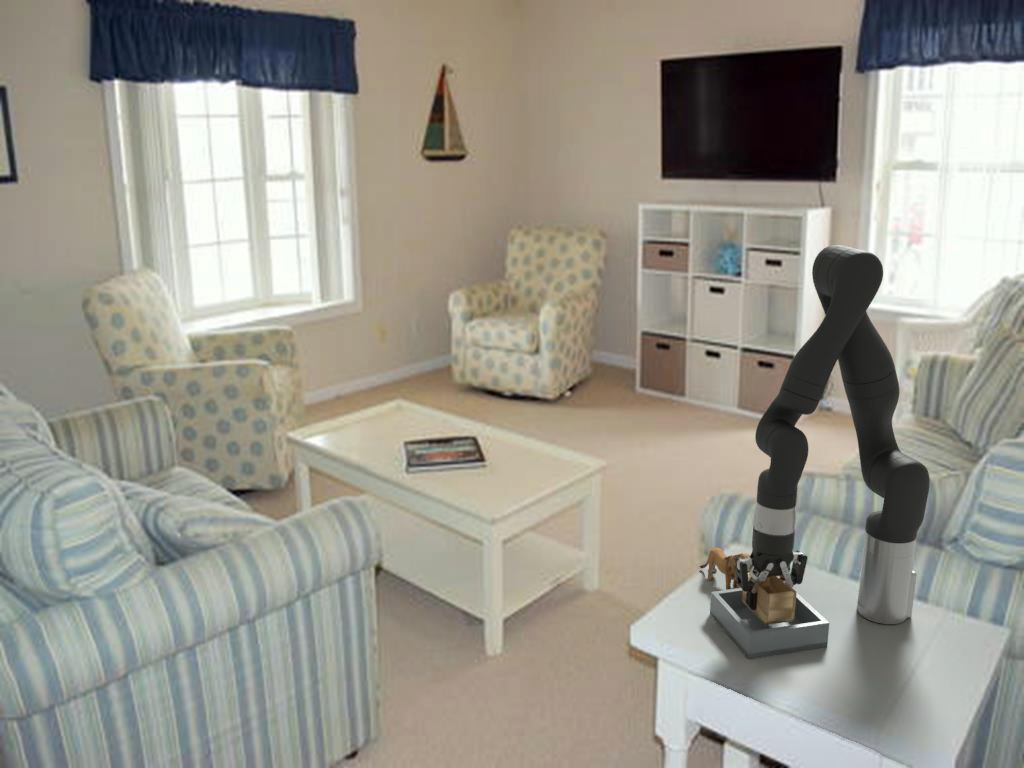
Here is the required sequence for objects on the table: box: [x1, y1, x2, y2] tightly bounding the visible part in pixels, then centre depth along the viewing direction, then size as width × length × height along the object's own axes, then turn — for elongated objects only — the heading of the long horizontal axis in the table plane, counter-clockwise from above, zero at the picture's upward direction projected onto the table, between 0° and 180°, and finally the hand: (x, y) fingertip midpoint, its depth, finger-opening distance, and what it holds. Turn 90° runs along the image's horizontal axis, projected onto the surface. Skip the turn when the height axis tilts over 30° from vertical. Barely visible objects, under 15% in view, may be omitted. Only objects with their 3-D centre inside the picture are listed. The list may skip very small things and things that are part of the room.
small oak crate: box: [742, 573, 798, 625], centre depth 173 cm, size 6×9×6 cm, turn 14°
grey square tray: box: [709, 588, 830, 660], centre depth 175 cm, size 16×16×5 cm
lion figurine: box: [699, 547, 753, 590], centre depth 192 cm, size 15×5×9 cm, turn 32°
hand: (767, 605), depth 174 cm, fingers closed on small oak crate, 6 cm apart
